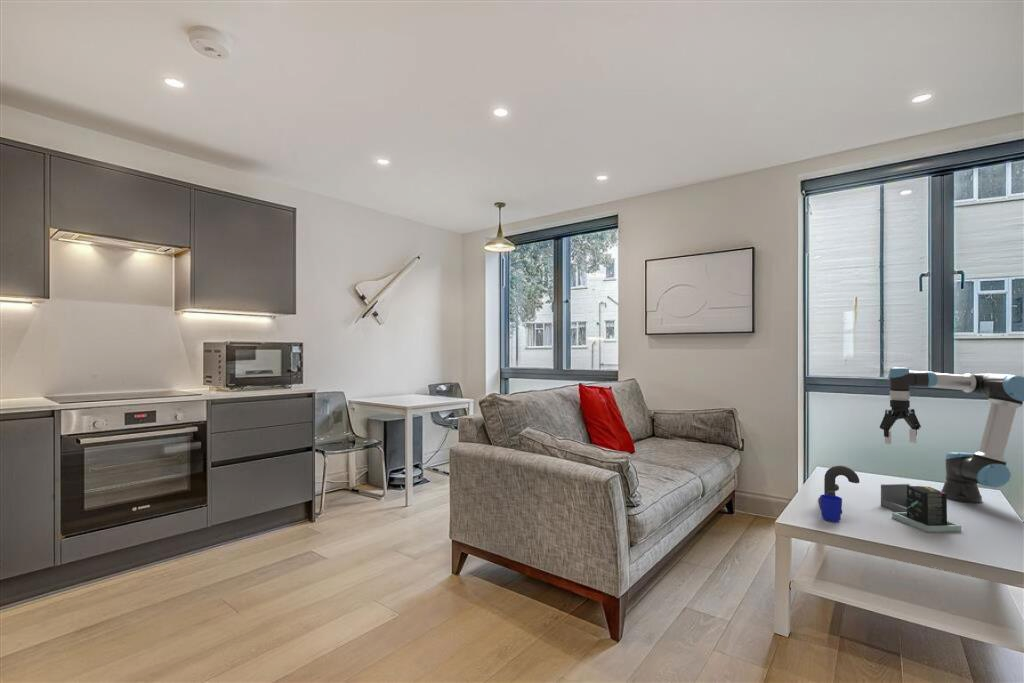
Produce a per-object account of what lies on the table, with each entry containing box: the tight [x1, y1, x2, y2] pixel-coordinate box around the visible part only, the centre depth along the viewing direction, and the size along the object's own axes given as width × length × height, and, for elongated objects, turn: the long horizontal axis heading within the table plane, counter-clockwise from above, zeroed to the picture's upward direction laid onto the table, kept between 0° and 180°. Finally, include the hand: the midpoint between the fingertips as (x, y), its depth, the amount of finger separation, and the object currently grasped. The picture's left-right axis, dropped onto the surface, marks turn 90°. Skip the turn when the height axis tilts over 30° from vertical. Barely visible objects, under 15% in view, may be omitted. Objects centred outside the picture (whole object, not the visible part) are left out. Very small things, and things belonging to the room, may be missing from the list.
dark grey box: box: [906, 485, 948, 526], centre depth 209 cm, size 11×9×15 cm
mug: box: [819, 494, 843, 523], centre depth 216 cm, size 8×12×10 cm
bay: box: [880, 483, 911, 512], centre depth 227 cm, size 14×15×10 cm
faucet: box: [818, 465, 860, 514], centre depth 230 cm, size 18×16×20 cm
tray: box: [891, 511, 962, 534], centre depth 209 cm, size 15×17×2 cm
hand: (900, 443), depth 235 cm, fingers open, 13 cm apart
